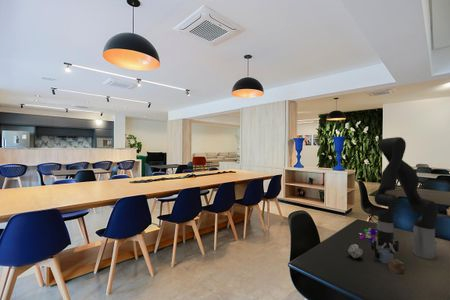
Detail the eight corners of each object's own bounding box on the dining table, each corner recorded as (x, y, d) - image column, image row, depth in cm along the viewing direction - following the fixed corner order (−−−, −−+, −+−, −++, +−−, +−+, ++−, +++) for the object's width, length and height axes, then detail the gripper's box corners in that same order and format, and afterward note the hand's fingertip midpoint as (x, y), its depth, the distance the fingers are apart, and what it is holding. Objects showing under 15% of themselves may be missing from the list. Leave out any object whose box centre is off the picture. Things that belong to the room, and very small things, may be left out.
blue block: (385, 258, 124) (386, 249, 124) (393, 263, 119) (393, 254, 119) (376, 258, 124) (376, 249, 124) (383, 263, 119) (383, 254, 119)
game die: (358, 265, 123) (369, 256, 117) (343, 258, 124) (353, 249, 118) (357, 252, 130) (366, 243, 124) (342, 245, 131) (351, 236, 125)
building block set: (385, 248, 139) (385, 241, 139) (352, 236, 156) (352, 230, 156) (401, 240, 152) (401, 233, 152) (369, 230, 169) (369, 224, 169)
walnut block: (396, 268, 114) (396, 258, 114) (403, 273, 109) (404, 263, 109) (388, 268, 114) (388, 258, 114) (395, 273, 109) (395, 263, 109)
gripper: (392, 227, 125) (391, 255, 125) (368, 226, 125) (367, 255, 125) (403, 232, 118) (402, 262, 118) (377, 231, 118) (376, 261, 118)
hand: (384, 258), depth 122 cm, fingers open, 7 cm apart
